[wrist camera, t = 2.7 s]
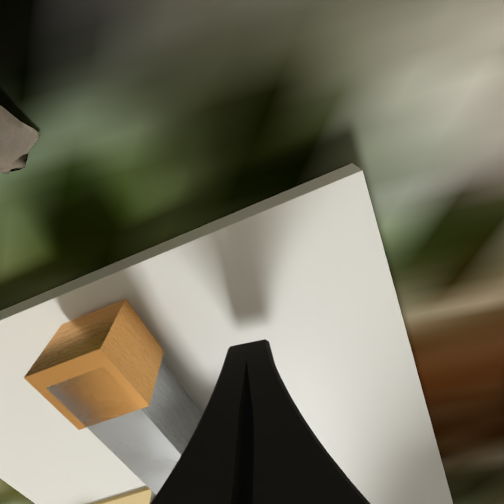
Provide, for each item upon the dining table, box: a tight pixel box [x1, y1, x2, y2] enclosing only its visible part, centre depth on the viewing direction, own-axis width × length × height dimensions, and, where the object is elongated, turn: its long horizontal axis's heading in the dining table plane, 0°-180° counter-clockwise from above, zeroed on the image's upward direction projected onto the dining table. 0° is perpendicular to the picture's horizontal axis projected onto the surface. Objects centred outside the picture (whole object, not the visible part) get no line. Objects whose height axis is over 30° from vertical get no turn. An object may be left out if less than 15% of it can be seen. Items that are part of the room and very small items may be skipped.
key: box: [24, 299, 203, 504], centre depth 14 cm, size 15×7×3 cm, turn 23°
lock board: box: [0, 163, 453, 504], centre depth 16 cm, size 20×24×4 cm
